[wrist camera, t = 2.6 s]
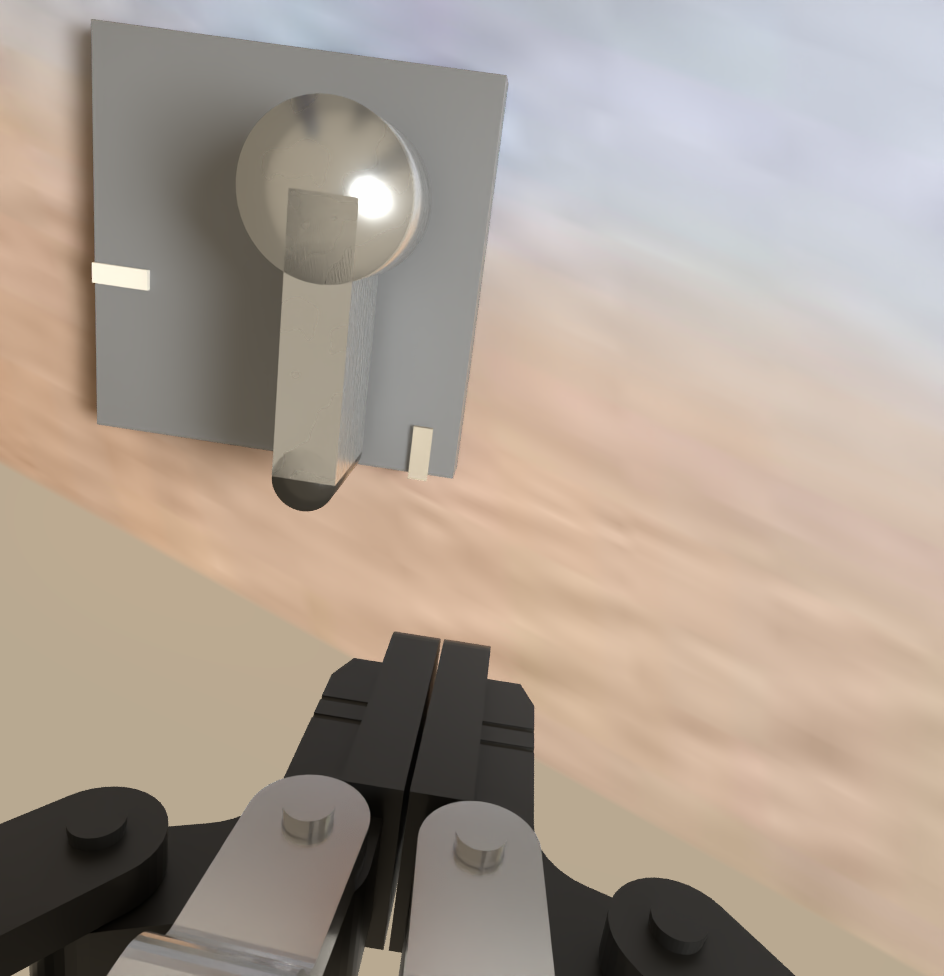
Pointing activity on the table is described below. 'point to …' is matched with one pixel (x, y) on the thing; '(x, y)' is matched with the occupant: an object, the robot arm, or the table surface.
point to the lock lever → (327, 270)
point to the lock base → (243, 268)
